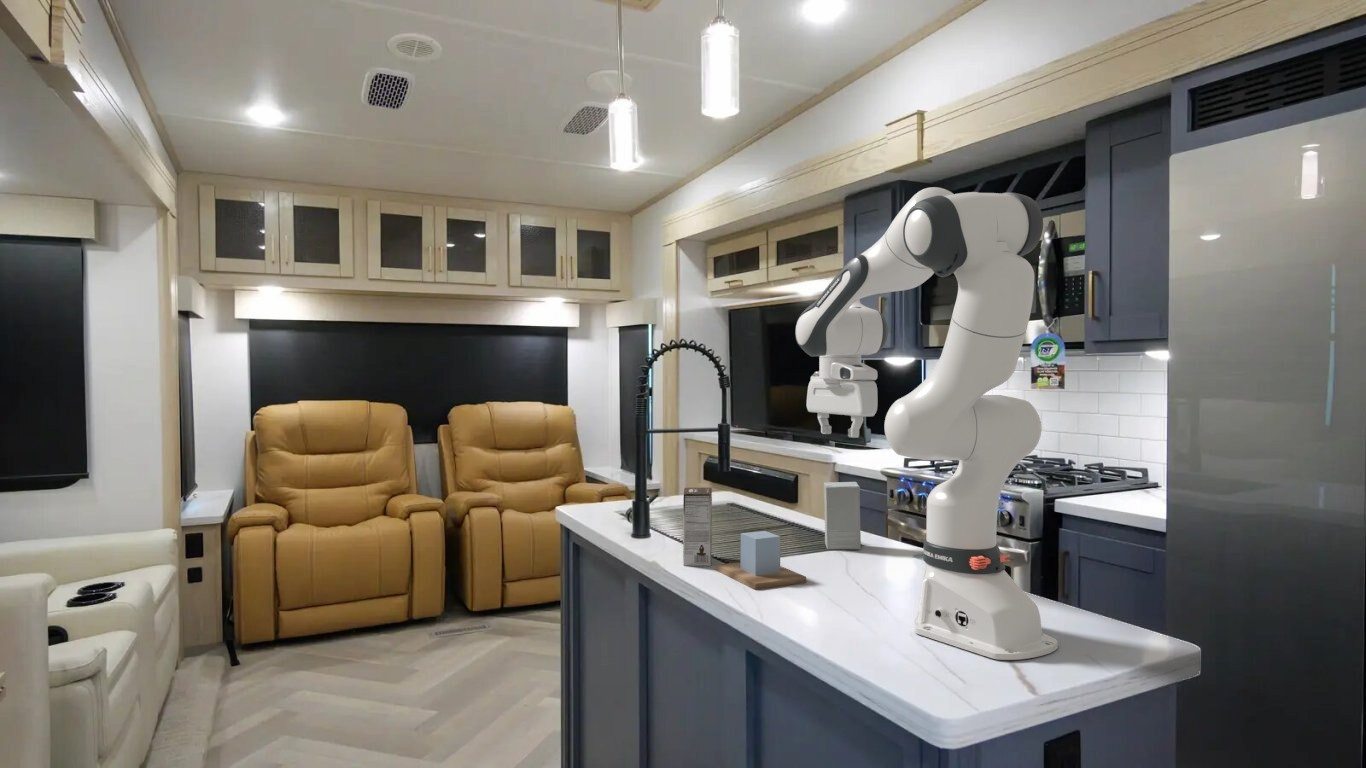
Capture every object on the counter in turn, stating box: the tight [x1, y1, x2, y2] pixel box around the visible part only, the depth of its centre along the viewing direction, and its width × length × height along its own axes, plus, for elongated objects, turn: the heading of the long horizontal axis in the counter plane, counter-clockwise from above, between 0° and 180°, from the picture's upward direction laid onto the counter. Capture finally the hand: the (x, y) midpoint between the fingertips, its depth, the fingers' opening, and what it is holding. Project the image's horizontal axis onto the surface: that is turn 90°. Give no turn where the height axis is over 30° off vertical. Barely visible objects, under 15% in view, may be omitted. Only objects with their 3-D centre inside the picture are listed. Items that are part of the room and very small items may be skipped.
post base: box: [716, 561, 807, 590], centre depth 158 cm, size 16×12×7 cm
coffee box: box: [682, 487, 713, 567], centre depth 171 cm, size 9×6×16 cm
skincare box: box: [823, 481, 862, 550], centre depth 184 cm, size 8×7×16 cm
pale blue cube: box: [740, 530, 781, 576], centre depth 158 cm, size 6×6×8 cm
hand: (839, 435), depth 163 cm, fingers open, 8 cm apart
